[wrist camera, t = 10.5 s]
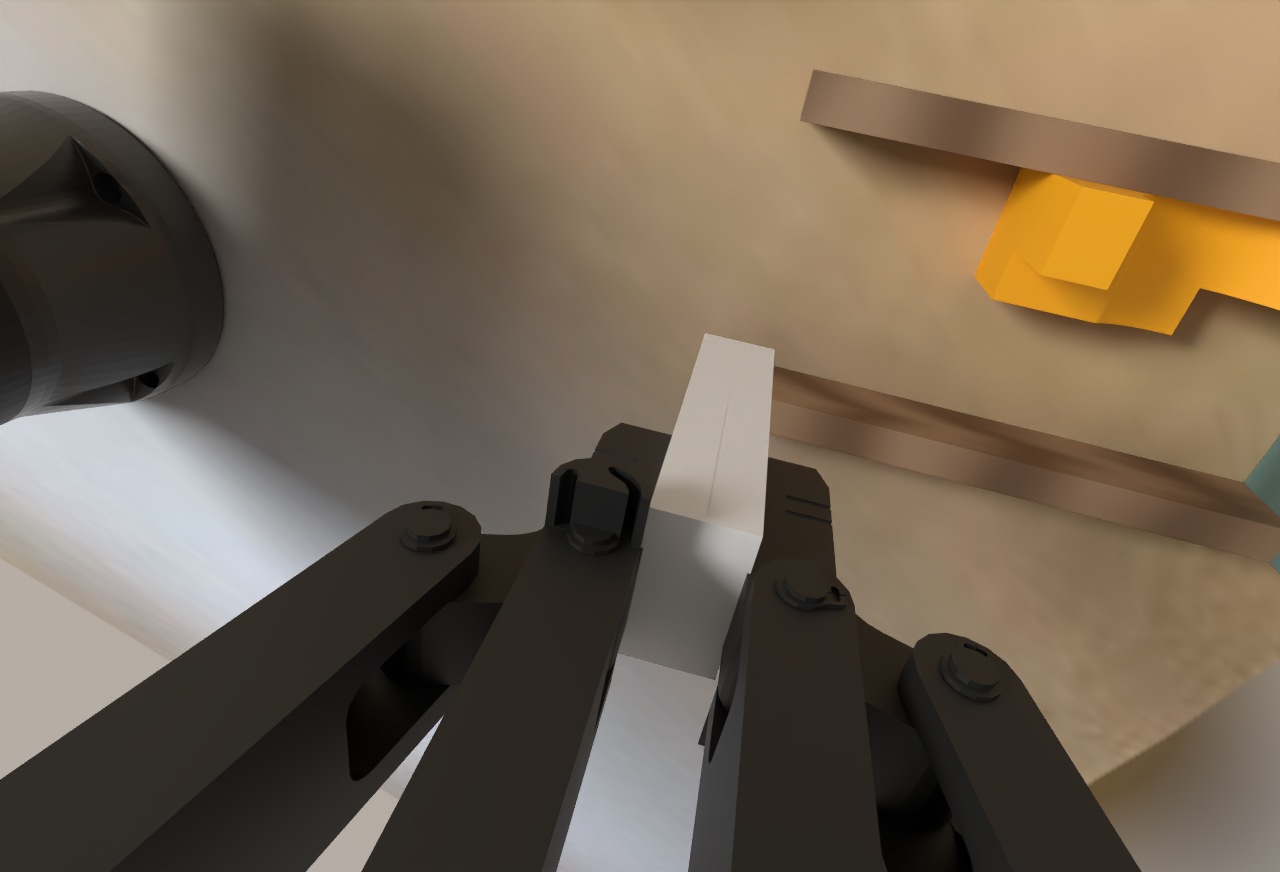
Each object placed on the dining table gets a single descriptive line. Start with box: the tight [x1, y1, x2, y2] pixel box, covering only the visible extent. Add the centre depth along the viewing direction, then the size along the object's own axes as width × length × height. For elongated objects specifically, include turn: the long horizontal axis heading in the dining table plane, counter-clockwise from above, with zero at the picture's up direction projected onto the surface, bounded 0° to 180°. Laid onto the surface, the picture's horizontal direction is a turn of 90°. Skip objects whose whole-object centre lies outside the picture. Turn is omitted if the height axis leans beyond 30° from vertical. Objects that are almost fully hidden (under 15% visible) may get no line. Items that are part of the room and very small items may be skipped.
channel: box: [769, 70, 1280, 573], centre depth 24 cm, size 24×13×6 cm, turn 79°
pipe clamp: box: [974, 167, 1280, 335], centre depth 23 cm, size 12×4×6 cm, turn 79°
